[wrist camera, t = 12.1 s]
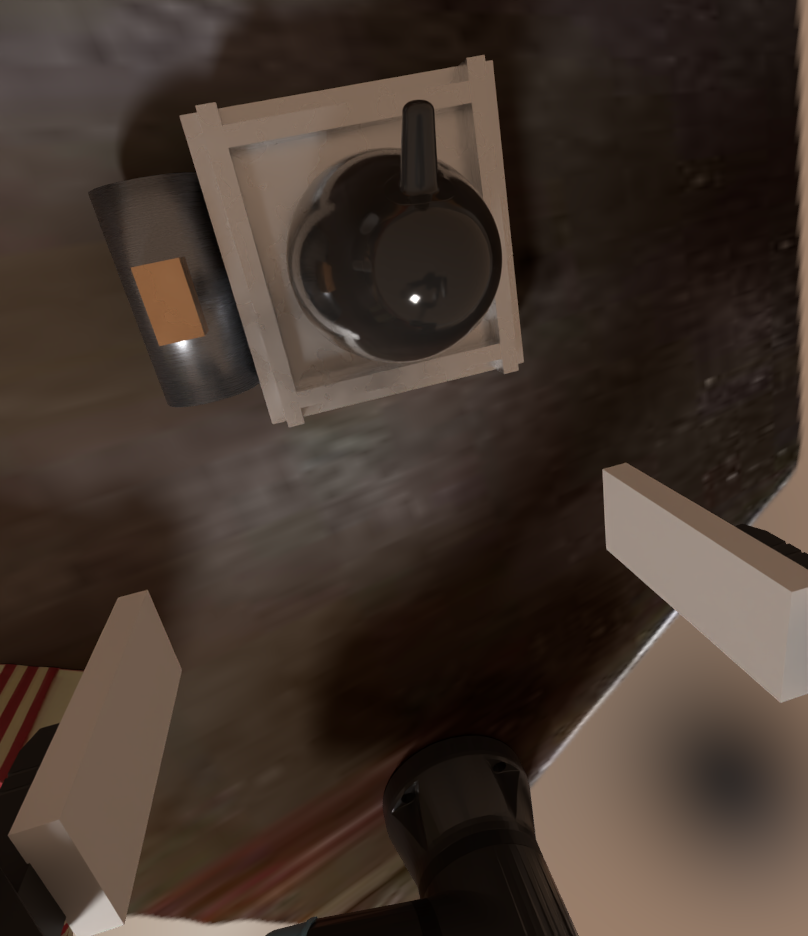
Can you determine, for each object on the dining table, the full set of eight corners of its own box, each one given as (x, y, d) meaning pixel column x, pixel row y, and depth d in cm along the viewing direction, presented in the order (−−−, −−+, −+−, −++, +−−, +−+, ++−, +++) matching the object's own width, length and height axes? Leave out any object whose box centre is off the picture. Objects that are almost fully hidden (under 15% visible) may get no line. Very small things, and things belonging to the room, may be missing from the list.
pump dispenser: (448, 147, 32) (580, 75, 18) (462, 332, 36) (578, 388, 22) (267, 166, 30) (260, 104, 17) (302, 357, 34) (321, 434, 21)
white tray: (497, 349, 42) (543, 371, 35) (188, 424, 39) (168, 465, 32) (464, 83, 35) (513, 42, 28) (88, 151, 33) (34, 126, 25)
